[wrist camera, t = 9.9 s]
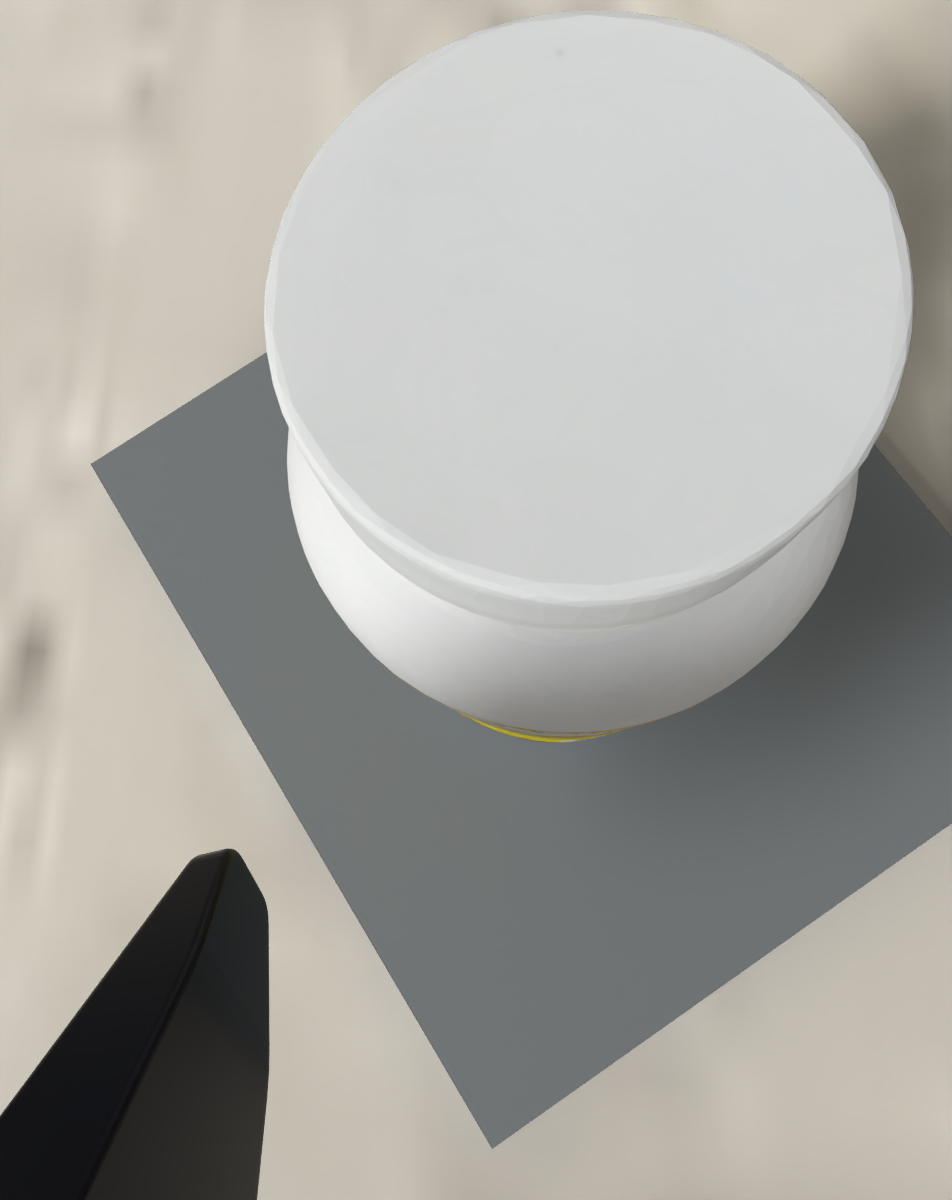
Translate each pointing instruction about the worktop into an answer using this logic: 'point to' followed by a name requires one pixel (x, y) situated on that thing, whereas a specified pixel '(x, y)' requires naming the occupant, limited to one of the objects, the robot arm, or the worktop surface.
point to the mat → (557, 770)
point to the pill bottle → (584, 365)
